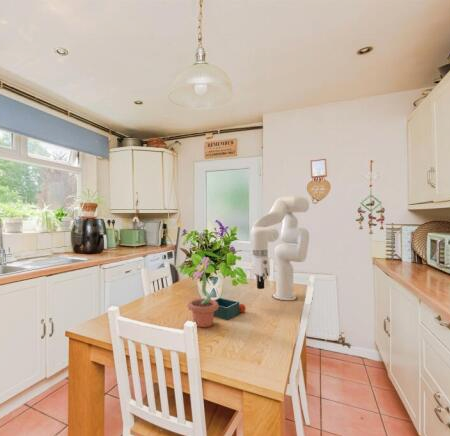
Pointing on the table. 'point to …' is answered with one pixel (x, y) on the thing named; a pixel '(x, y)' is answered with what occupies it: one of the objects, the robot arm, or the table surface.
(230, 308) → the box
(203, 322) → the decorative flower
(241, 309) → the ball
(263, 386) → the table surface
